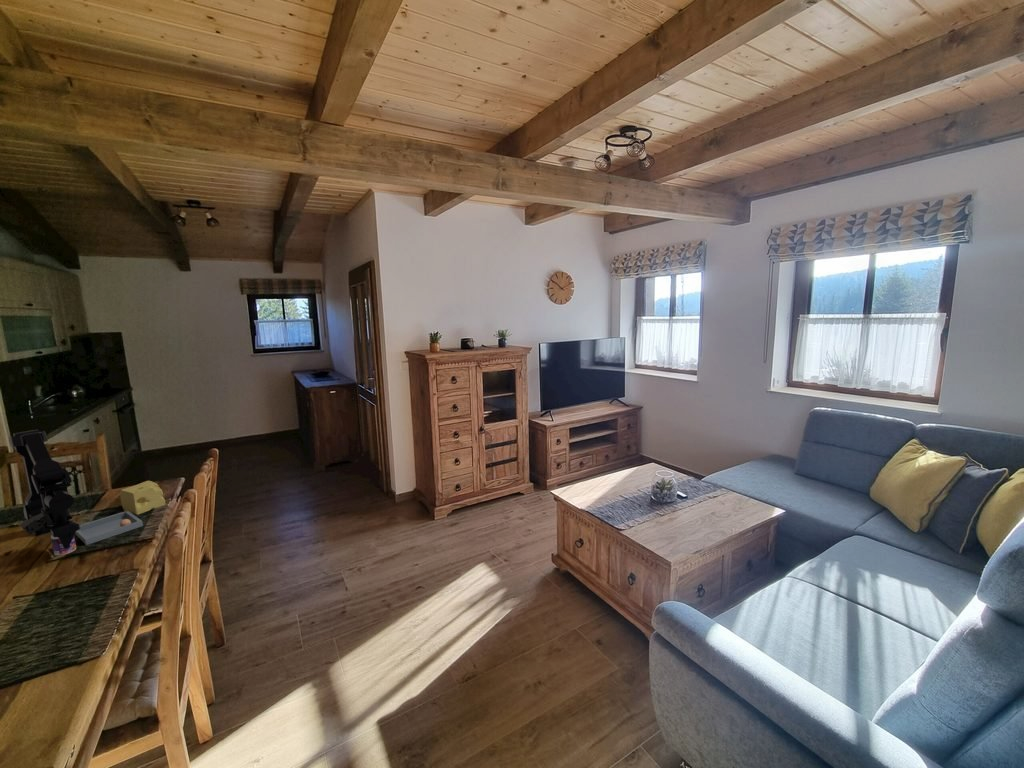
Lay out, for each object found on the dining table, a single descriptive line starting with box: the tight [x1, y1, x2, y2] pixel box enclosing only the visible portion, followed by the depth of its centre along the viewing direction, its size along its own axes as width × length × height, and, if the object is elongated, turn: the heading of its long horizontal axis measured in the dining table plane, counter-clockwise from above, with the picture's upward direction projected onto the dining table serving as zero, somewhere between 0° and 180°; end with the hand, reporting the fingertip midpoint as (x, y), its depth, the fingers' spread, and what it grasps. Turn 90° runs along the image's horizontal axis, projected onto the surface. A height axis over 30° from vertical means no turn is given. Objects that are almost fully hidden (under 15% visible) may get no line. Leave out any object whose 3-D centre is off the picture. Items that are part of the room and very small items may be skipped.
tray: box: [74, 510, 144, 546], centre depth 163 cm, size 16×16×3 cm
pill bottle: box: [50, 534, 77, 556], centre depth 148 cm, size 5×5×10 cm
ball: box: [120, 519, 131, 527], centre depth 164 cm, size 3×3×3 cm
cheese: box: [119, 480, 166, 516], centre depth 180 cm, size 10×11×10 cm
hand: (64, 545), depth 148 cm, fingers closed on pill bottle, 5 cm apart
